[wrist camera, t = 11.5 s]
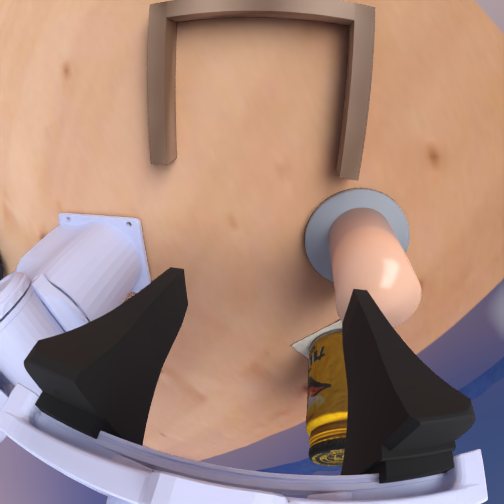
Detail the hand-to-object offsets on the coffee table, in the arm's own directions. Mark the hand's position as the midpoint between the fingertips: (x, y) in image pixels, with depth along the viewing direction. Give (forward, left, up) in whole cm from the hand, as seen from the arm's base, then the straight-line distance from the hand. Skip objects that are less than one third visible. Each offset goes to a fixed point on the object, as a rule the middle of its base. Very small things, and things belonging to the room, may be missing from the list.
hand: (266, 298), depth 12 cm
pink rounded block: (+6, -3, -9) cm, 11 cm away
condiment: (+8, -14, -10) cm, 19 cm away
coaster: (+6, -2, -10) cm, 12 cm away
